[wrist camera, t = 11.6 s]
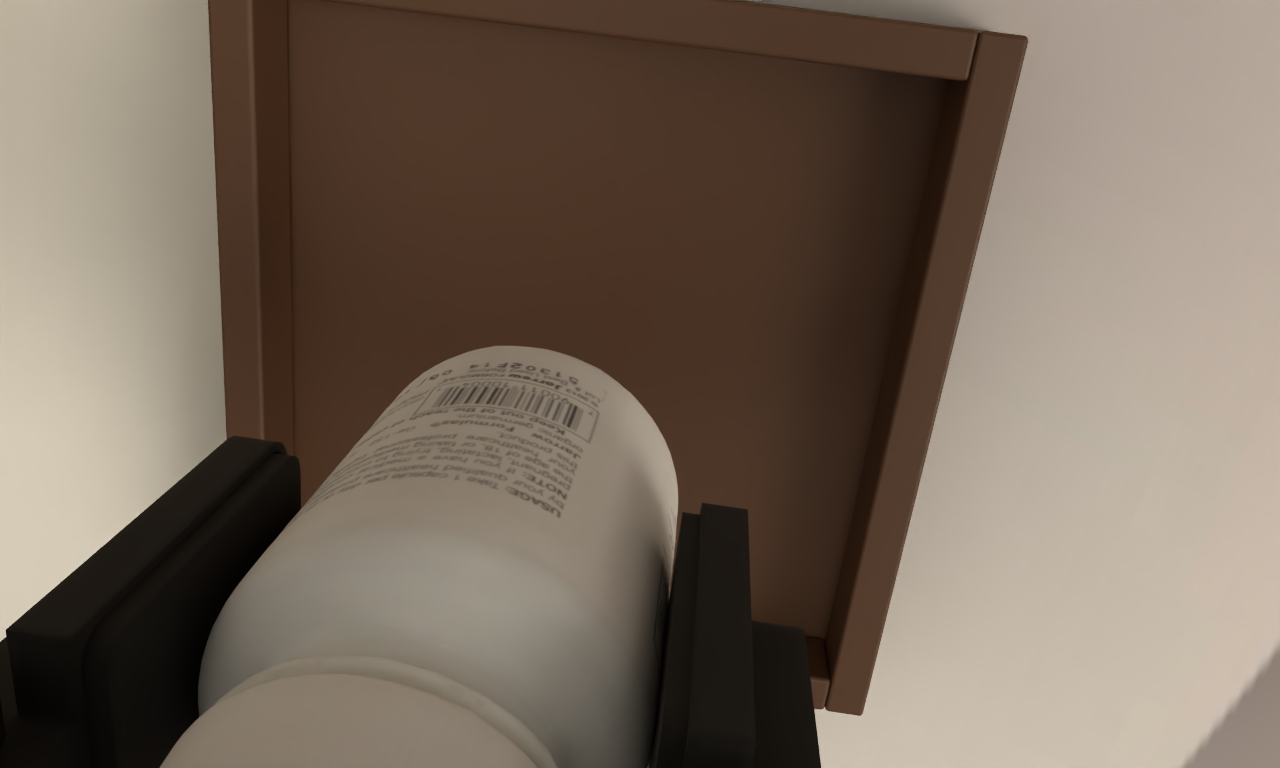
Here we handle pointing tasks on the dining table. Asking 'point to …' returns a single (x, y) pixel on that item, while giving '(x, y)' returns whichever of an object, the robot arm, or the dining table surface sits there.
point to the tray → (623, 244)
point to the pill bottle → (459, 587)
